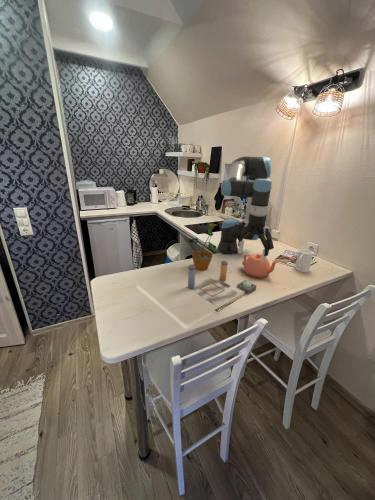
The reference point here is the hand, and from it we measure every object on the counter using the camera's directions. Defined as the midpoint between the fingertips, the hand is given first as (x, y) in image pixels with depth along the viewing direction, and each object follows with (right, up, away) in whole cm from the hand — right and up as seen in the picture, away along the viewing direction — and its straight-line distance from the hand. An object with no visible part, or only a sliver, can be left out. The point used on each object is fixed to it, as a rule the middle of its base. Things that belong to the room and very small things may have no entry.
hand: (251, 257), depth 109 cm
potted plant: (-23, -8, +27) cm, 36 cm away
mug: (+39, -9, +30) cm, 50 cm away
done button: (-1, -17, +7) cm, 18 cm away
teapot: (+11, -11, +24) cm, 28 cm away
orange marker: (-12, -14, +14) cm, 23 cm away
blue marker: (-30, -16, +5) cm, 34 cm away
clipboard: (-19, -18, +4) cm, 26 cm away
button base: (-1, -17, +7) cm, 19 cm away
